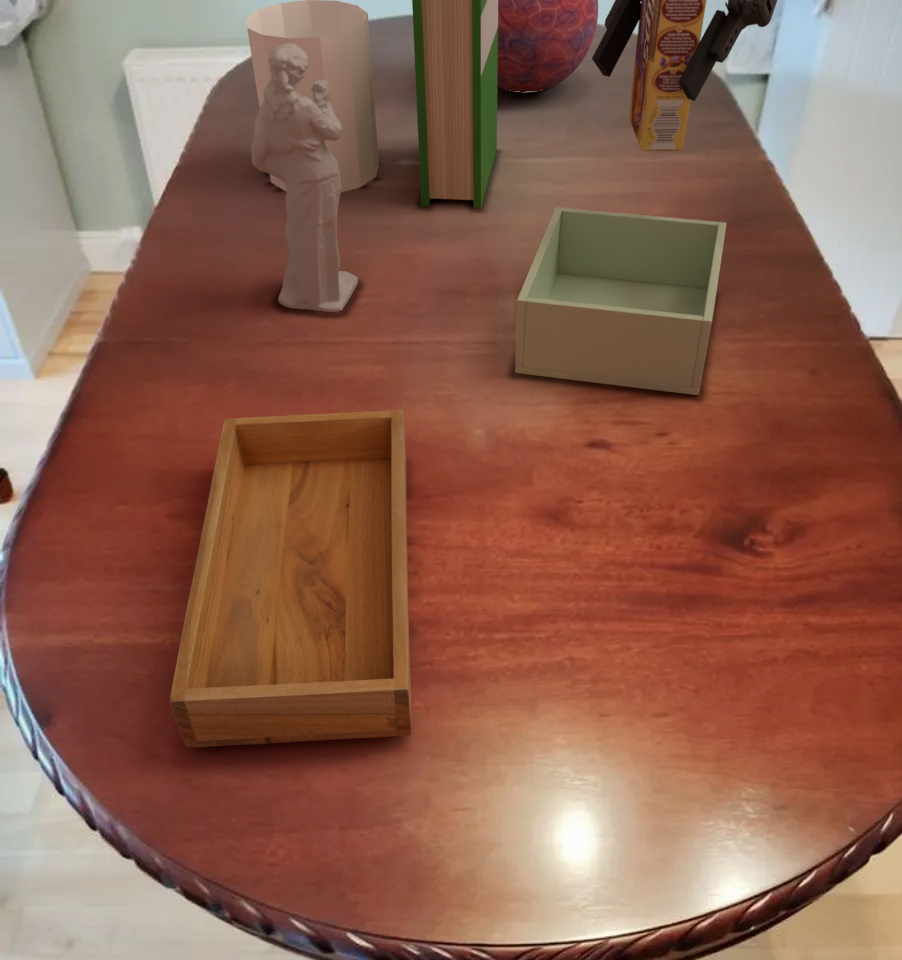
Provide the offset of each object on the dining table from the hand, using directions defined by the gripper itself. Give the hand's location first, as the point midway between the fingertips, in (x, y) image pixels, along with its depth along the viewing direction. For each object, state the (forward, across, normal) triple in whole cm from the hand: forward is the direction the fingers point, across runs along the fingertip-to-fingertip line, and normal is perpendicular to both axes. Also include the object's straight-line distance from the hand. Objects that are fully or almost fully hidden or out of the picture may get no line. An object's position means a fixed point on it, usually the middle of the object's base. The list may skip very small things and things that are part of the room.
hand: (642, 79), depth 90 cm
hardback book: (+7, +35, -24) cm, 43 cm away
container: (+15, +49, -17) cm, 54 cm away
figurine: (+30, +26, -2) cm, 39 cm away
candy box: (+2, 0, -6) cm, 7 cm away
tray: (+51, -8, +19) cm, 55 cm away
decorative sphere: (-13, +49, -45) cm, 67 cm away
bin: (+19, -3, -13) cm, 23 cm away
